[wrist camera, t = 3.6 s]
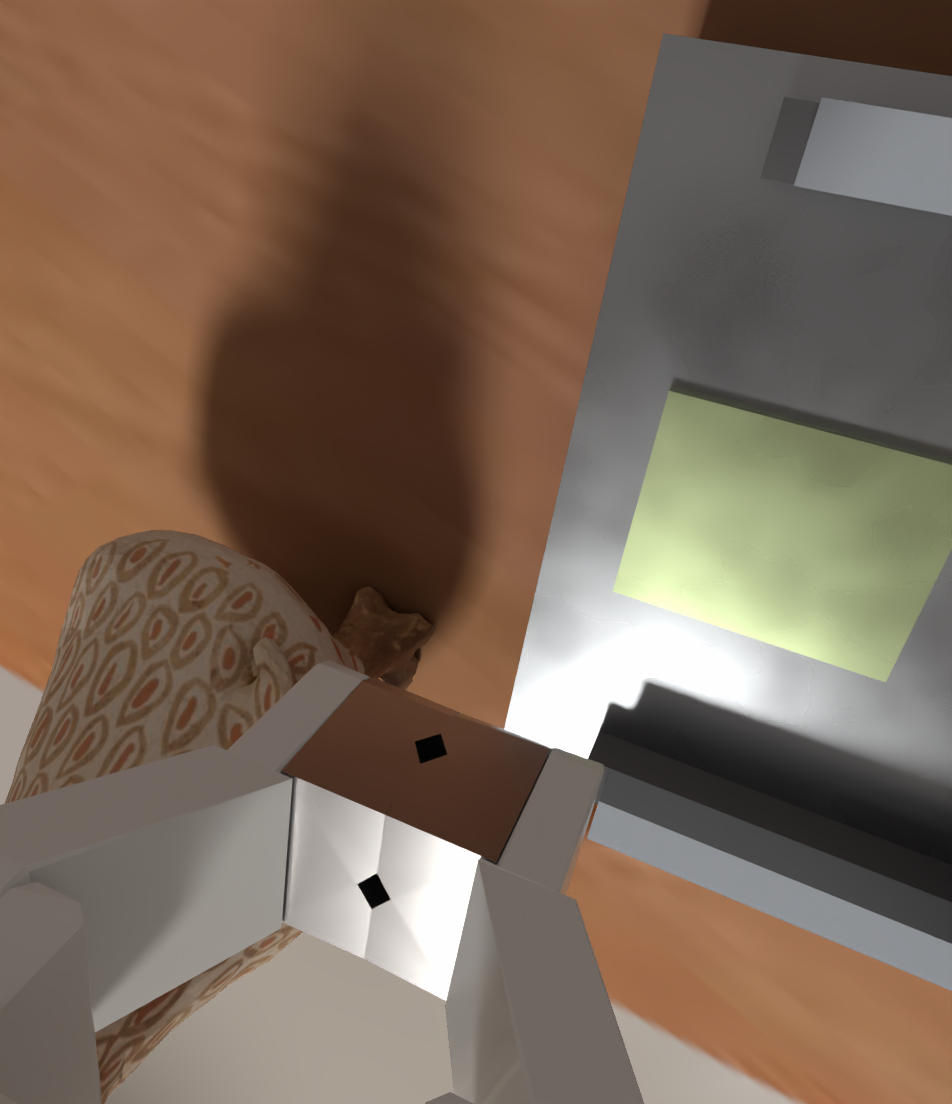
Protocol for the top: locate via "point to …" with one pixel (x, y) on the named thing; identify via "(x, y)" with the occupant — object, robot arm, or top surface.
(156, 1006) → the figurine
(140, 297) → the top surface
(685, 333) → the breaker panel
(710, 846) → the pair of grey bars
